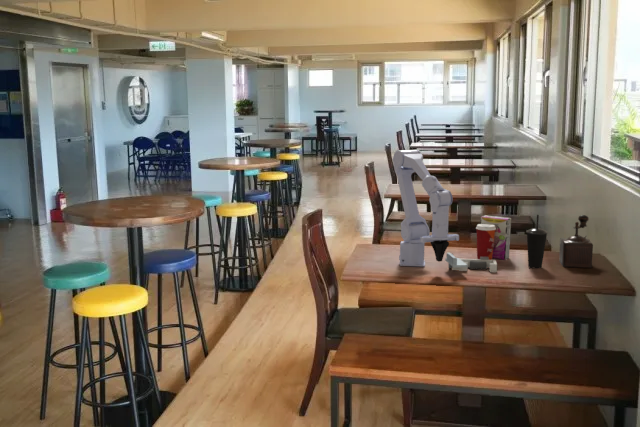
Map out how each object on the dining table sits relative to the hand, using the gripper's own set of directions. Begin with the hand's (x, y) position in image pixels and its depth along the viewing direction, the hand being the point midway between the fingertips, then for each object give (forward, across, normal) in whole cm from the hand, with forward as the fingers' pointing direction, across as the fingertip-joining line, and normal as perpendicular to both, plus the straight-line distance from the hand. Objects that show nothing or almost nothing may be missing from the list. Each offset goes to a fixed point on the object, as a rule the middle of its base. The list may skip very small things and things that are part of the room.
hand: (439, 260), depth 243 cm
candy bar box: (+5, +32, +15) cm, 36 cm away
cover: (+1, +6, -1) cm, 7 cm away
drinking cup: (+5, +39, -2) cm, 39 cm away
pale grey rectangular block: (+5, +15, +2) cm, 16 cm away
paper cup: (+5, +27, +13) cm, 30 cm away
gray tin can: (+4, +18, +3) cm, 18 cm away
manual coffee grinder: (+5, +57, -2) cm, 58 cm away
